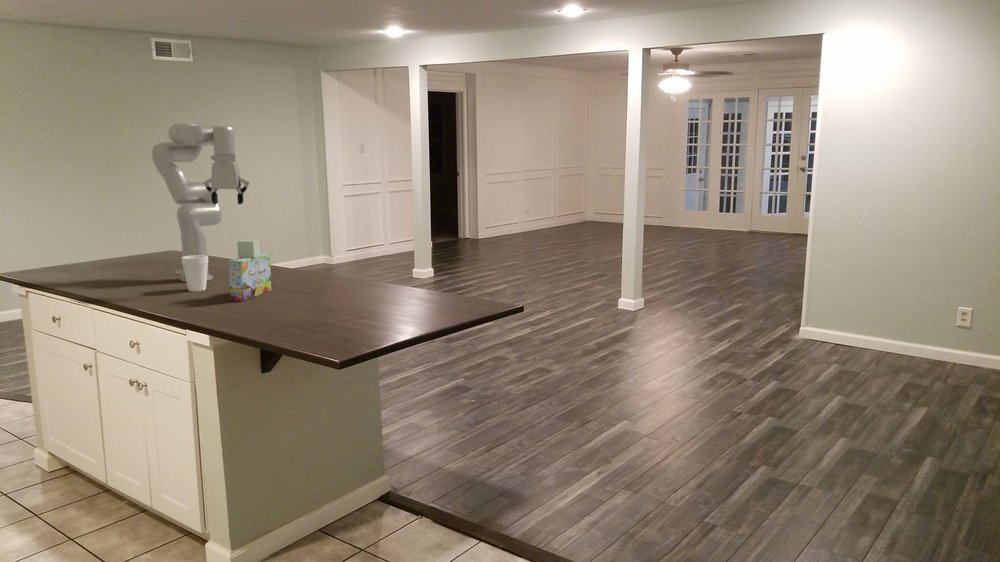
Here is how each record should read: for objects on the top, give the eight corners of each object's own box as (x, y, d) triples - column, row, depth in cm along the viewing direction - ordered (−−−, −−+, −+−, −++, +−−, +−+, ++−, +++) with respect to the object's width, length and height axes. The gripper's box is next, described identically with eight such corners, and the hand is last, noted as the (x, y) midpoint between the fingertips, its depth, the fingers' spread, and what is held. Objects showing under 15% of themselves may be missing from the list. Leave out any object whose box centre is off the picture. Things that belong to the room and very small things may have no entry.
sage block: (238, 257, 275) (237, 241, 274) (244, 255, 281) (243, 239, 280) (254, 257, 275) (253, 241, 273) (260, 255, 280) (259, 239, 279)
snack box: (243, 302, 270) (241, 260, 267) (229, 301, 271) (227, 260, 268) (272, 290, 290) (270, 252, 287) (259, 290, 291) (257, 251, 288)
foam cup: (178, 290, 289) (176, 257, 286) (198, 286, 297) (196, 254, 295) (195, 293, 284) (193, 259, 282) (215, 288, 293) (213, 256, 290)
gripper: (198, 159, 281) (201, 204, 284) (244, 159, 280) (246, 204, 283) (206, 158, 288) (209, 203, 291) (250, 158, 288) (253, 203, 291)
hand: (227, 203), depth 287 cm, fingers open, 9 cm apart
